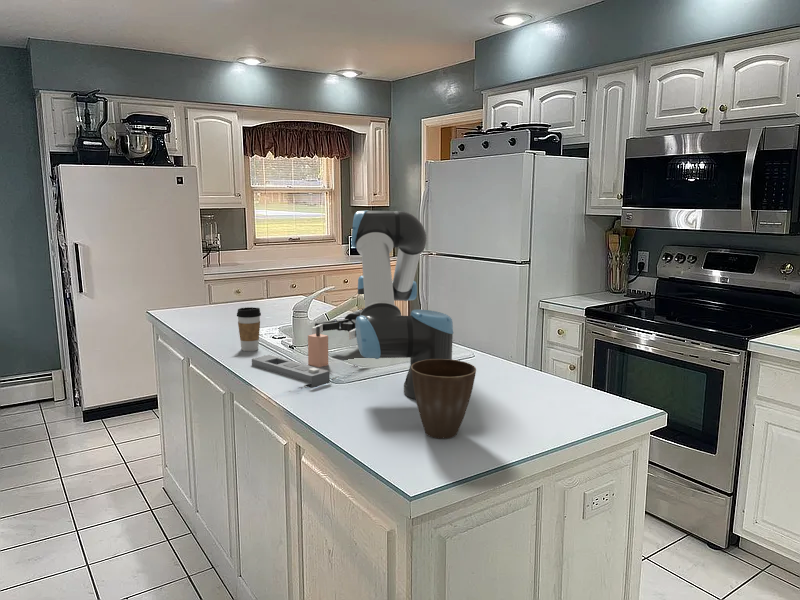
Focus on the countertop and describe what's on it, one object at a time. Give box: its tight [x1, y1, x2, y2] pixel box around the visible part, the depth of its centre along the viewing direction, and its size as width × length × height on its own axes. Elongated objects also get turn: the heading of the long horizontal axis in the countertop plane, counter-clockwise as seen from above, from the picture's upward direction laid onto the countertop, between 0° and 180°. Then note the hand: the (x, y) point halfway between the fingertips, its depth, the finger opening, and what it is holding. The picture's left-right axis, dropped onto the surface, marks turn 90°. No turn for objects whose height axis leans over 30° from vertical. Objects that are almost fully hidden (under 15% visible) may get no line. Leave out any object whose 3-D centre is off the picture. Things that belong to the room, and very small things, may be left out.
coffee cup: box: [236, 306, 262, 352], centre depth 218 cm, size 8×8×15 cm
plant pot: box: [411, 359, 477, 440], centre depth 142 cm, size 15×15×16 cm
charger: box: [307, 326, 329, 368], centre depth 194 cm, size 5×4×14 cm
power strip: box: [251, 354, 330, 389], centre depth 187 cm, size 28×7×4 cm, turn 50°
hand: (331, 333), depth 202 cm, fingers open, 13 cm apart
